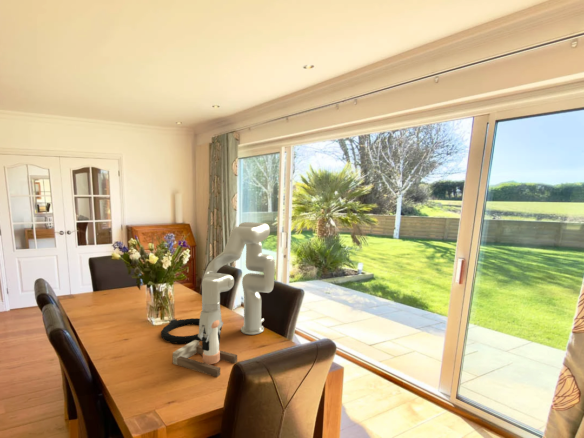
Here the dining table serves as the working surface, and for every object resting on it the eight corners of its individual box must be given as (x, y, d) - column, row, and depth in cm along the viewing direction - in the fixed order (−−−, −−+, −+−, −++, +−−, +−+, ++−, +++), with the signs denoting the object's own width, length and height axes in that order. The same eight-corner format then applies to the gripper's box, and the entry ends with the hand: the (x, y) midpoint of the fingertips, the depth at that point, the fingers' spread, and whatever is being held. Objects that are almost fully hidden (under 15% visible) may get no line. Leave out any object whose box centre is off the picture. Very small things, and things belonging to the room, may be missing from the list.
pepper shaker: (206, 366, 133) (206, 321, 132) (200, 358, 139) (199, 316, 138) (222, 361, 138) (222, 317, 136) (215, 354, 143) (215, 312, 142)
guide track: (195, 350, 151) (195, 339, 151) (237, 361, 141) (237, 350, 141) (172, 363, 138) (172, 352, 138) (217, 377, 128) (217, 365, 128)
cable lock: (179, 342, 151) (148, 326, 170) (179, 350, 151) (148, 333, 170) (225, 325, 172) (193, 312, 191) (225, 332, 172) (193, 318, 191)
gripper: (216, 299, 146) (216, 337, 147) (190, 311, 130) (190, 353, 132) (230, 301, 143) (230, 340, 144) (204, 314, 127) (204, 357, 129)
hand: (211, 346), depth 138 cm, fingers closed on pepper shaker, 6 cm apart
